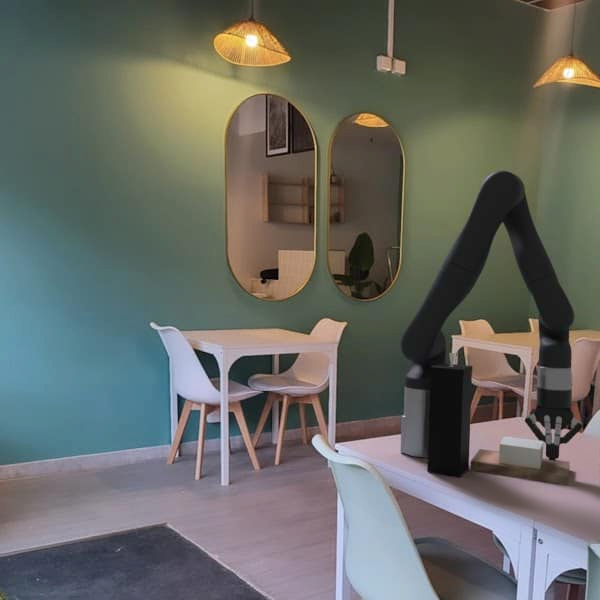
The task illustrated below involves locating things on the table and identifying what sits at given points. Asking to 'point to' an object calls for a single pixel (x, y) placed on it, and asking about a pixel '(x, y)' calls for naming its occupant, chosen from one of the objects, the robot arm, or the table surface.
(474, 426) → the table surface
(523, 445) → the carton
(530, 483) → the table surface
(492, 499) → the table surface
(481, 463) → the podium
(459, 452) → the black rectangular column
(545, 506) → the table surface
